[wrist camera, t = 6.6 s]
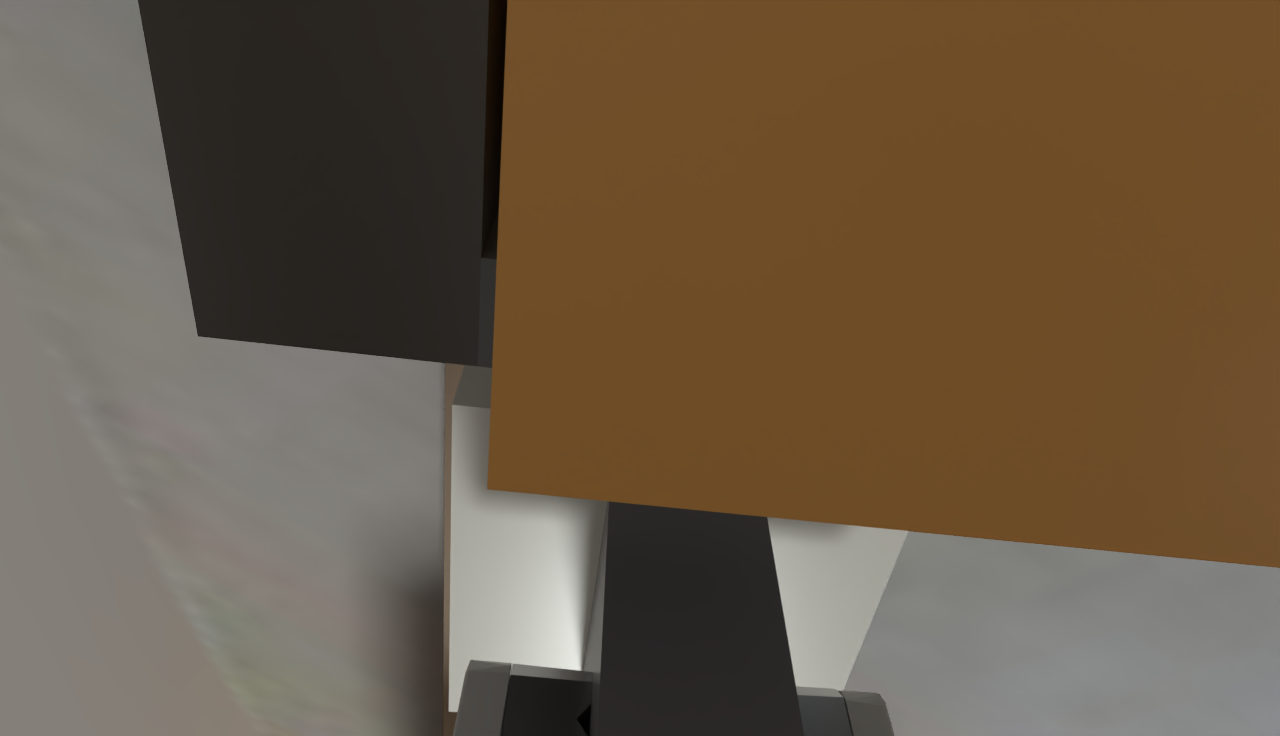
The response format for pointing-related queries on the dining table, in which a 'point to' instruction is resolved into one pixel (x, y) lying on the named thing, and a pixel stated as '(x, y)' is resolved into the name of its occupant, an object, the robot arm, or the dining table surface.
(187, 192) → the rail frame
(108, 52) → the dining table surface
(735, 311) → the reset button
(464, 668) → the carriage
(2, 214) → the dining table surface
